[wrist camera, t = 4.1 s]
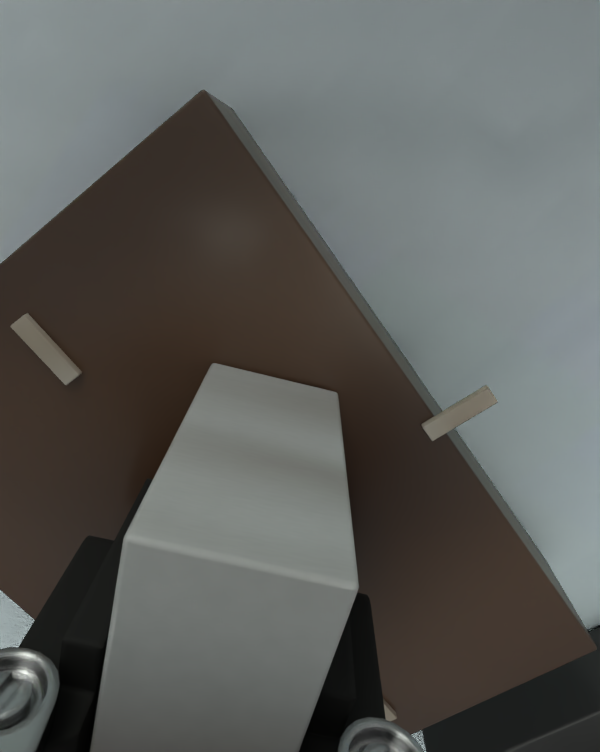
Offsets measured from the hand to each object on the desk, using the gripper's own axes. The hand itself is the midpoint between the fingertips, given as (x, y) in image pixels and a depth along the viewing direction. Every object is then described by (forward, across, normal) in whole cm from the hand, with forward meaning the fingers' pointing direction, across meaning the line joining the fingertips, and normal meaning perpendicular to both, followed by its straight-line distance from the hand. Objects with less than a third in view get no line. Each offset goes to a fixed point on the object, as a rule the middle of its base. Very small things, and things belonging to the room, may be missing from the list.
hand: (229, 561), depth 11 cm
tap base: (+3, 0, 0) cm, 3 cm away
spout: (0, 0, 0) cm, 0 cm away
